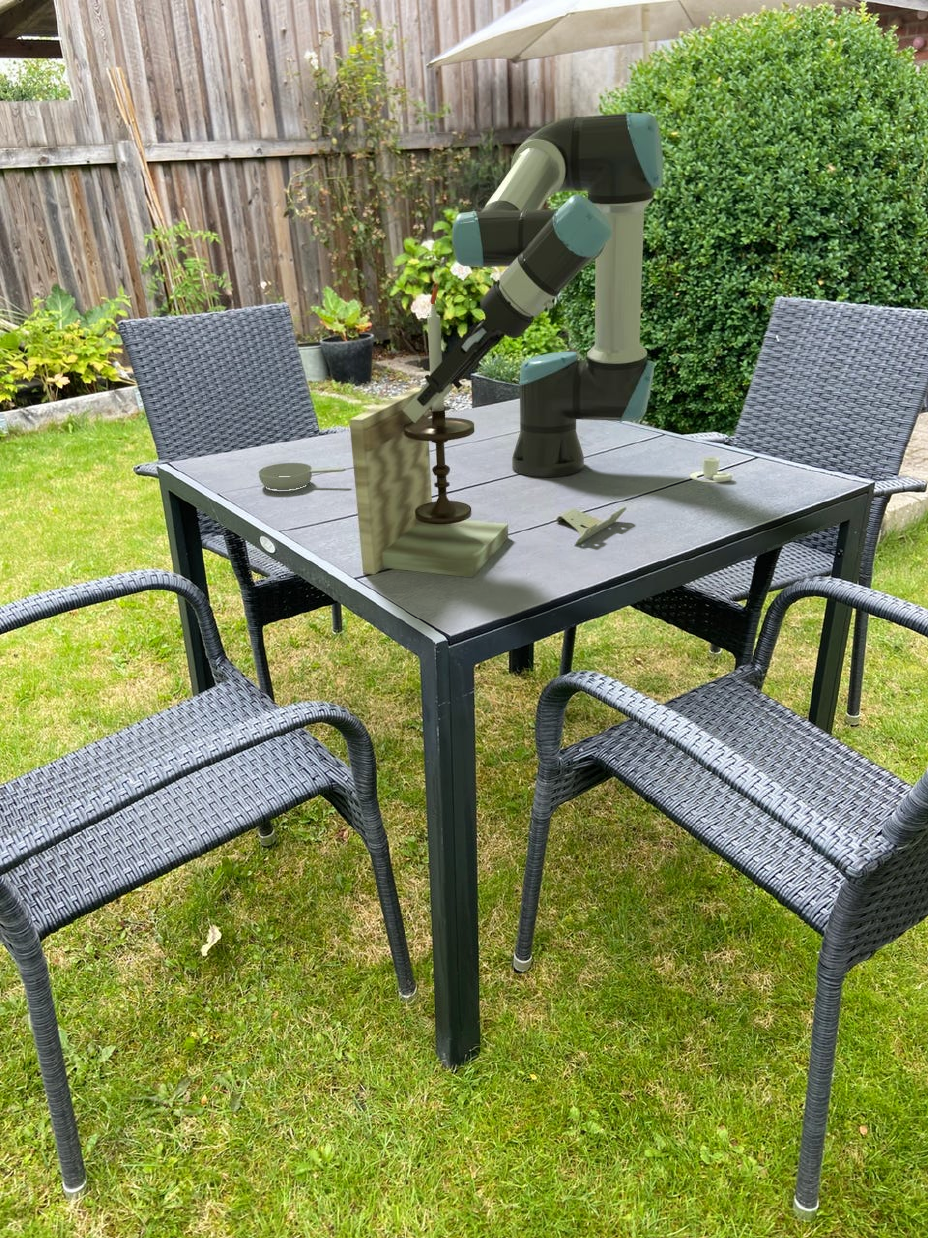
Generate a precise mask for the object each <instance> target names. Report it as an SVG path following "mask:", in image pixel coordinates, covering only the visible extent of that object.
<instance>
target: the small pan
mask: <svg viewBox="0 0 928 1238" xmlns="http://www.w3.org/2000/svg"><path fill="white" fill-rule="evenodd" d="M312 468H313V467H312V466H311V465H310V464H307V463H303V462H284V463H277V464H271V465H267V466H265V467H264V466H263V467H262V468H260V469H259V470H258V476H259V477H258V478H259V480H260V482H261V484H262V485H263V487H264V488H266V487H267V488H270V489H277V490H289V489H296V488H300V487H303V486H305V485H307V484H308V483H310V482H311V480H312V476H313V475H312V474H318V473H319V474H321V473H322V474H323V473H339V472H345V471H346V468H345V467H338V468H337V467H335V468H334V467H333V468H320V469H312ZM279 476H290V477H279ZM308 485H309V484H308ZM308 485H307V486H308Z"/></svg>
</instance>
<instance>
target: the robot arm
mask: <svg viewBox="0 0 928 1238" xmlns="http://www.w3.org/2000/svg"><path fill="white" fill-rule="evenodd" d="M662 143H663V142H662V137H661V130H660V125H659V122H658V120H657V118H656V117H655V115H653V114H651V113H641V112H640V113H639V112H638V113H637V112H626V113H625V112H624V113H615V114H613V113H612V114H605V115H604V114H602V115H601V114H599V115H592V116H591V115H590V116H571V117H570V116H569V117H564V118H562V119H559V120H556V121H553V122H551V123H549V124H546V125H545V126H543V127H542V128H540V129H538V130H537V131H535V132H534V133H532V134H531V135H530V136H528V137H527V138H526V139H525V140H524V141H523V142H522V143H521V145H519V147H518V148H517V149H516V151H515V152H514V154H513V157H512V159H511V164H510V170H509V172H508V173H506V176H505V177H504V179H503V180H502V182H501V183H500V184H499V186H498V187H497V189H496V190H495V192H493V194H492V196H491V197H490V198H489V200H488V201H487V203H486V204H485V206H484V207H483V209H481V211H476V210H471V211H468V212H460V213H459V214H457V216H456V217H455V219H454V222H453V226H452V235H451V236H452V237H451V238H452V249H453V254H454V258H455V260H456V262H457V263H458V264H459V265H461V266H463V267H478V268H480V269H481V268H499V267H500V268H501V267H503V268H504V267H505V268H506V267H507V268H506V269H505V270H504V272H503V273H502V274H500V276H499V281H498V282H494V284H493V285H492V286H491V287H490V288H489V290H487V291H486V293H484V295H483V296H482V298H481V299H480V303H479V304H480V308H481V311H482V312H483V314H484V318H482V319H481V320H480V321H479V320H477V321H475V323H473V324H472V326H470V328H469V329H468V330H469V331H468V332H465V333H464V334H463V335H462V336H461V338H460V339H459V341H458V342H457V343H456V345H454V347H453V348H452V349H451V351H450V352H449V353H448V354H447V355H446V356H445V358H444V359H442V362H441V363H440V365H439V366H438V367H437V368H436V369H435V370H434V372H433V373H432V374H431V375H429V374H426V375H425V376H424V379H425V380H426V383H425V384H424V385H423V386H422V387H421V388H422V389H421V390H420V391H419V392H418V393H417V394H416V395H415V397H414V398H413V399H412V400H411V401H410V402H409V403H408V404H407V406H406V407H405V408H404V409H403V411H404V412H405V413H406V415H407V416H408V417H409V418H410V419H411V420H412V421H413V422H414V423H416V422H417V421H418V420H419V419H420V418H421V417H422V416H423V415H424V416H425V417H427V416H428V415H429V414H430V413H431V412H432V411H427V410H428V409H429V408H430V407H432V405H433V404H434V403H435V401H436V400H437V399H438V398H439V397H440V396H441V395H442V394H443V392H444V398H445V397H447V395H448V394H450V392H452V389H454V386H455V388H456V389H457V390H459V389H460V388H461V387H462V386H463V384H462V383H461V382H460V381H463V380H465V379H466V377H467V375H469V373H470V372H471V371H473V369H474V368H475V367H476V366H477V365H478V364H479V363H480V361H481V360H483V358H484V357H485V356H486V355H488V354H489V352H490V351H491V350H492V349H493V348H495V347H496V346H497V345H499V343H500V342H501V341H502V340H503V339H504V337H506V336H507V337H509V338H511V339H518V338H520V337H521V336H522V335H523V334H524V332H525V331H527V329H528V328H529V327H530V326H531V325H533V323H534V321H535V320H534V319H535V317H540V315H541V314H542V312H544V310H545V309H546V308H547V309H549V310H552V309H553V307H554V302H552V300H554V299H555V298H557V297H558V295H560V293H561V292H562V291H563V290H564V289H565V288H566V287H567V286H568V284H569V283H571V282H572V280H574V279H575V278H576V276H577V275H578V274H579V273H580V272H581V271H582V270H583V269H584V268H585V267H586V266H588V264H590V263H592V262H593V261H595V265H594V267H595V272H594V273H595V275H594V276H595V281H594V282H595V283H594V284H595V286H594V287H595V288H594V290H595V291H594V293H595V294H594V345H593V346H592V347H591V348H590V349H589V350H588V351H587V352H586V360H585V359H584V360H582V359H579V358H580V357H579V356H578V353H577V352H576V351H558V352H551V353H545V354H540V355H536V356H532V357H529V358H527V359H526V360H524V361H523V362H522V363H521V365H520V370H519V371H520V373H519V374H520V375H519V382H518V385H519V419H520V421H519V424H520V425H519V427H520V428H519V429H520V431H519V434H518V438H517V442H516V444H515V448H514V451H513V453H512V458H511V462H512V463H511V468H512V470H513V471H514V472H516V473H519V474H521V475H525V476H529V477H541V478H542V477H543V478H550V477H551V478H552V477H553V478H554V477H555V478H556V477H563V476H568V475H569V476H570V475H575V474H577V473H579V472H581V471H582V470H583V469H584V463H585V457H584V453H583V450H582V447H581V444H580V439H579V435H578V433H577V420H583V421H584V420H586V421H607V422H608V421H610V422H611V421H612V422H620V423H622V422H629V421H630V422H632V421H633V422H636V421H640V420H641V419H642V418H643V417H644V416H645V414H646V412H647V409H648V403H649V399H650V395H651V389H652V384H653V380H654V379H653V378H654V374H655V373H654V372H655V362H654V361H651V360H647V359H648V351H647V349H646V348H645V347H644V346H643V345H642V344H641V343H640V338H641V337H640V336H641V334H640V332H641V310H642V309H641V308H642V307H641V306H642V284H643V283H642V282H643V281H642V280H643V279H642V278H643V253H644V251H643V250H644V249H643V248H644V247H643V245H644V220H645V209H646V208H647V207H648V205H649V204H650V203H651V202H653V200H654V190H657V189H661V187H662V185H663V183H664V182H663V181H664V160H663V159H664V158H663V157H664V156H663V144H662ZM558 192H587V197H586V196H585V197H584V195H582V194H573V195H571V196H570V197H569V198H568V199H567V200H566V201H565V202H564V203H563V204H562V205H561V206H560V207H558V208H555V209H542V207H543V206H544V205H545V203H546V201H547V199H548V198H549V199H550V197H552V196H553V195H555V194H556V193H558ZM453 385H454V386H453Z"/></svg>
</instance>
